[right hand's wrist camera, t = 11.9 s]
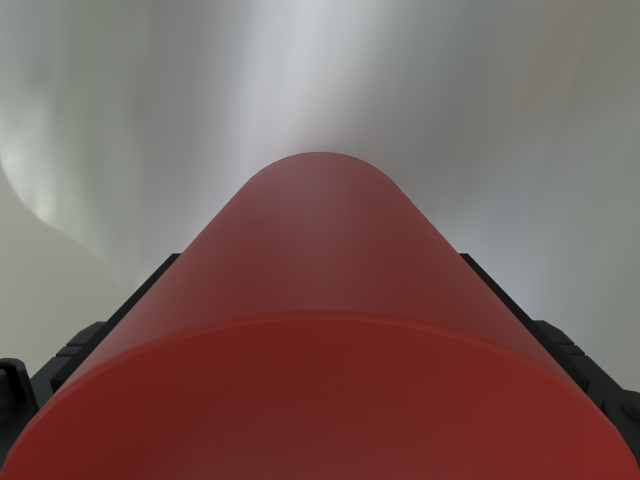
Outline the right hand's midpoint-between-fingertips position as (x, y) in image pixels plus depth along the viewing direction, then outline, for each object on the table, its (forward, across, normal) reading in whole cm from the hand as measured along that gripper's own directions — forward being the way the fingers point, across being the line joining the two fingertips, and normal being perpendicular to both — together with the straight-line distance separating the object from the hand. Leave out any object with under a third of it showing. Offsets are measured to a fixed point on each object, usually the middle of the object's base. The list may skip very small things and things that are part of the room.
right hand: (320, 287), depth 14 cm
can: (+4, 0, 0) cm, 4 cm away
